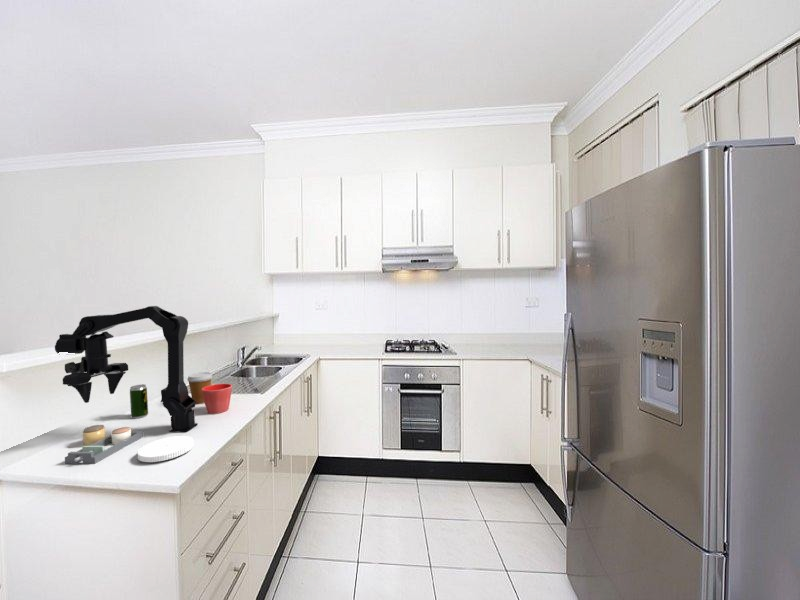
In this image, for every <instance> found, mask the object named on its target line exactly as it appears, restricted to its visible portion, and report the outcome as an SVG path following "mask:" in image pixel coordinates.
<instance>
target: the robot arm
mask: <svg viewBox="0 0 800 600" xmlns="http://www.w3.org/2000/svg"><path fill="white" fill-rule="evenodd" d="M146 319H150V320H151V321H152V323H154V325H156V326H158V327H159V328H161V330H162V333H163V337H164V339H165V340H166V342H167V385H166V387H164V388H162V389H161V390H160V395H161V400H160V403H162V406H163V408H165V409H166V410H167V413H168V414H169V416H170V428H171V429H169V430H168V432H169V433H187V432H188V431H191V430H192V429H194V428H195V427H197V426H198V424H199V423H197V422H196V421H195V420H196V419H195V417H196V415H195V409H194V408H195V407H196V405H197V404H196V401H195V400H194V399H193V398H192V396H190V394H189V389H188V386H187V385H186V383H185V381H184V379H185V378H184V377H185V376H184V374H185V373H184V371H185V370H184V340H185V339H186V336H187V334H188V328H189V321H188V319H187V318H186V317H184V316H181V315H176V314H175V313H172V312H170V311H167V310H165V309H163V308H161V307H160V306H158V305H150V306H146V307H142V308H138V309H135V310H134V309H133V310H129V311H124V312H120V313H116V314H98V315H97V314H96V315H90V316H89V315H88V316H83V317H82V318H81V319H80V321H79V322H78V326H77V327H76V329H74V331H73V333H70V334H69V333H62V334H59V338H58V339H57V340H56V342H55V345H54V351H55V352H56V354H58V353H59V352H68V353H75V354H74V355H77V354H82V353H84V356H82V357H81V358H80V362H77V363H75V362H74V361H71V362H67V363H65V364H64V371H65V373H66V375H64V376H63V378H62V385H67V386H68V387H72V388H74V389H75V390H76V391H77V392H78V394H79V395H80V397H81V399H82V401H83V402H84V404H85V403H86V404H87V403H89V402H90V399H91V391H92V384H93V381H91V379H92V378H95V377H99V376H101V375H104V376H105V377H106V379H107V384H108V390H109V391H108V392H109V394H110V395H113V394H115V392H116V389H117V387H118V386H119V384H120V382H121V380H122V378H123V376H124V375H125V374H126V373H127V371H129V364H127V362H114V363H113V362H112V363H110V364H109V359H108V358H111V357H112V353H108V343H107V340H108V339H113V338H114V335H113V334H111V333H110V332H108V331H107V330H109V329H112V328H114V327H117V326H120V325H123V324H126V323H132V322H137V321H142V320H146ZM100 332H101V333H100ZM87 336H89V337H87Z"/></svg>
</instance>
